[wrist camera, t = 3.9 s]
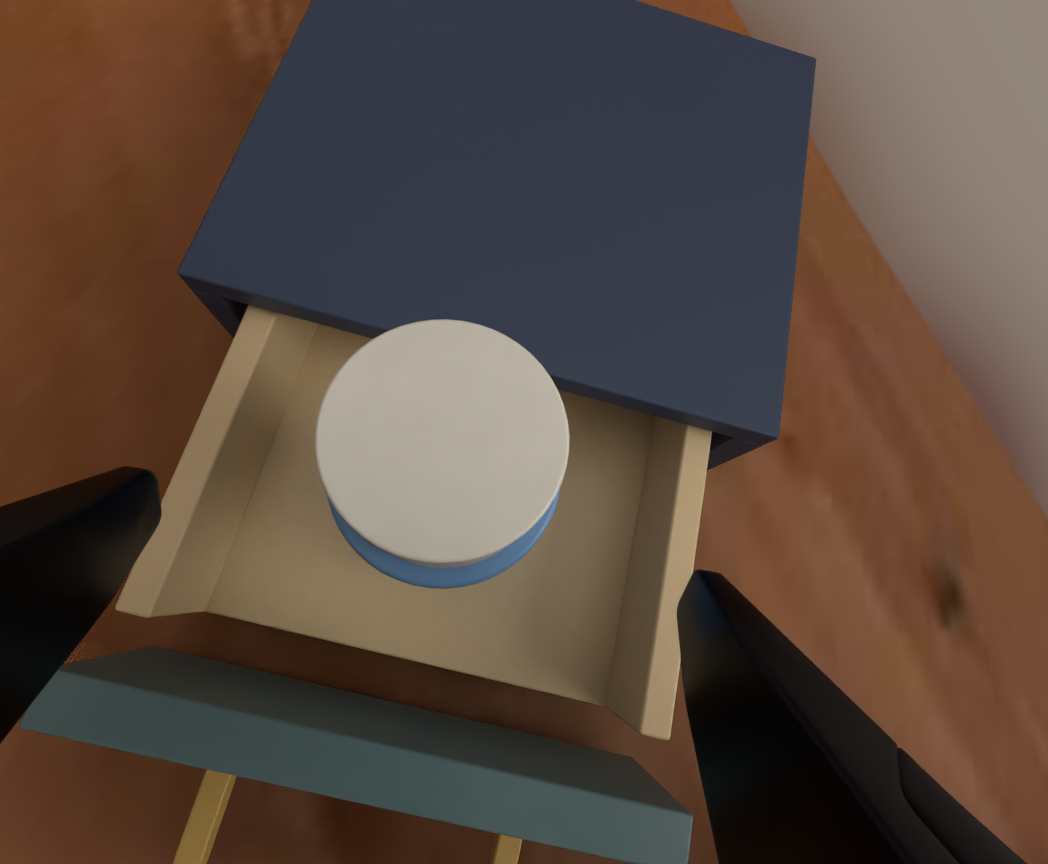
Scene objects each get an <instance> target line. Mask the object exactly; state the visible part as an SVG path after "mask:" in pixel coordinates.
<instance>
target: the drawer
mask: <svg viewBox="0 0 1048 864" xmlns="http://www.w3.org/2000/svg"><path fill="white" fill-rule="evenodd" d="M371 340H372V338H368V337H365V336H361V335H357V334H354V333H350V332H346V331H343V330H339V329H335V328H332V327H328V326H324V325H321V324H317V323H313V322H310V321H306V320H302V319H299V318H295V317H291V316H288V315H284V314H280V313H277V312H273V311H269V310H266V309H262V308H258V307H255V306H251V305H248V307H247V310H246V312H245V314H244V316H243V319H242V321H241V323H240V325H239V328H238V330H237V332H236V335H235V337H234V339H233V341H232V344H231V346H230V348H229V350H228V353H227V355H226V357H225V359H224V362H223V364H222V366H221V368H220V371H219V373H218V375H217V378H216V380H215V382H214V384H213V387H212V389H211V391H210V393H209V396H208V398H207V400H206V402H205V405H204V407H203V409H202V411H201V414H200V416H199V418H198V421H197V423H196V425H195V427H194V430H193V432H192V434H191V436H190V439H189V441H188V443H187V445H186V448H185V450H184V452H183V455H182V457H181V459H180V461H179V464H178V466H177V468H176V470H175V473H174V475H173V477H172V479H171V482H170V484H169V486H168V488H167V491H166V493H165V495H164V498H163V500H162V502H161V508H162V515H161V520H160V523H159V525H158V527H157V529H156V530H155V532H154V534H153V535H152V537H151V538H150V540H149V542H148V543H147V545H146V546H145V548H144V549H143V551H142V553H141V554H140V556H139V557H138V559H137V561H136V562H135V564H134V565H133V568H132V570H131V572H130V574H129V577H128V579H127V581H126V584H125V586H124V588H123V590H122V593H121V595H120V597H119V599H118V602H117V604H116V606H115V609H116V610H117V611H120V612H124V613H128V614H132V615H137V616H141V617H145V618H149V617H159V616H168V615H177V614H186V613H196V612H204V611H205V612H209V613H213V614H217V615H221V616H226V617H230V618H234V619H238V620H242V621H247V622H251V623H255V624H259V625H263V626H268V627H272V628H276V629H280V630H284V631H289V632H293V633H297V634H301V635H305V636H310V637H314V638H318V639H322V640H326V641H331V642H335V643H339V644H343V645H347V646H352V647H356V648H360V649H364V650H368V651H373V652H377V653H381V654H385V655H389V656H393V657H398V658H402V659H406V660H410V661H414V662H419V663H423V664H427V665H431V666H435V667H440V668H444V669H448V670H452V671H456V672H461V673H465V674H469V675H473V676H477V677H482V678H486V679H490V680H494V681H498V682H503V683H507V684H511V685H515V686H519V687H524V688H528V689H532V690H536V691H540V692H545V693H549V694H553V695H557V696H561V697H566V698H570V699H574V700H578V701H582V702H587V703H591V704H595V705H599V706H603V707H606V708H608V709H609V710H610V711H612V712H613V713H614V714H615V715H617V716H618V717H619V718H620V719H622V720H623V721H624V722H626V723H627V724H628V725H629V726H631V727H632V728H633V729H635V730H636V731H637V732H638V733H640V734H641V735H645V736H649V737H654V738H658V739H662V740H669V738H670V734H671V726H672V719H673V712H674V705H675V697H676V690H677V683H678V676H679V668H680V661H681V656H680V645H679V635H678V625H677V606H678V602H679V600H680V598H681V596H682V594H683V592H684V590H685V588H686V586H687V583H688V581H689V579H690V577H691V575H692V574H693V567H694V560H695V552H696V545H697V538H698V531H699V523H700V516H701V509H702V502H703V494H704V487H705V480H706V473H707V465H708V458H709V451H710V444H711V436H712V431H708V430H705V429H701V428H697V427H694V426H690V425H686V424H683V423H679V422H676V421H672V420H668V419H665V418H661V417H657V416H654V415H650V414H646V413H643V412H639V411H635V410H632V409H628V408H624V407H621V406H617V405H613V404H610V403H606V402H602V401H599V400H595V399H591V398H588V397H584V396H580V395H577V394H573V393H569V392H566V391H562V390H558V391H559V394H560V396H561V399H562V401H563V404H564V407H565V411H566V415H567V419H568V427H569V455H568V462H567V467H566V471H565V474H564V478H563V481H562V484H561V486H560V492H559V498H558V501H557V505H556V508H555V511H554V514H553V516H552V518H551V521H550V523H549V525H548V527H547V528H546V530H545V532H544V533H543V535H542V536H541V538H540V539H539V541H538V542H537V543H536V544H535V546H534V547H533V548H532V549H531V550H530V551H529V552H528V553H527V554H526V555H525V556H524V557H523V558H522V559H521V560H520V561H519V562H517V563H516V564H514V565H513V566H512V567H510V568H509V569H508V570H506V571H504V572H502V573H500V574H499V575H497V576H495V577H493V578H490V579H488V580H485V581H483V582H480V583H477V584H473V585H469V586H464V587H458V588H448V589H440V588H426V587H420V586H414V585H411V584H407V583H404V582H401V581H398V580H396V579H394V578H392V577H390V576H387V575H385V574H383V573H382V572H380V571H379V570H377V569H376V568H374V567H373V566H371V565H370V564H368V563H367V562H366V561H365V560H364V559H363V558H362V557H360V556H359V555H358V554H357V553H356V552H355V550H354V549H353V548H352V547H351V546H350V545H349V543H348V542H347V541H346V539H345V538H344V536H343V535H342V533H341V531H340V530H339V528H338V526H337V524H336V522H335V519H334V517H333V515H332V512H331V509H330V505H329V502H328V498H327V494H326V492H325V489H324V487H323V485H322V483H321V480H320V476H319V473H318V469H317V465H316V458H315V450H314V433H315V426H316V420H317V415H318V411H319V408H320V405H321V401H322V399H323V397H324V395H325V392H326V390H327V388H328V386H329V384H330V383H331V381H332V380H333V378H334V376H335V375H336V373H337V372H338V371H339V369H340V368H341V367H342V366H343V365H344V363H345V362H346V361H347V360H348V359H349V358H350V357H351V356H352V355H353V354H354V353H355V352H356V351H357V350H358V349H360V348H361V347H362V346H364V345H365V344H367V343H368V342H369V341H371ZM19 727H20V728H22V729H26V730H30V731H35V732H39V733H44V734H48V735H53V736H58V737H62V738H67V739H71V740H76V741H80V742H85V743H89V744H94V745H98V746H103V747H107V748H112V749H116V750H121V751H125V752H130V753H134V754H139V755H144V756H148V757H153V758H157V759H162V760H166V761H171V762H175V763H180V764H184V765H189V766H193V767H198V768H202V769H206V771H205V774H204V777H203V779H202V782H201V785H200V788H199V791H198V793H197V796H196V799H195V802H194V804H193V807H192V810H191V813H190V815H189V818H188V821H187V824H186V826H185V829H184V832H183V835H182V837H181V840H180V843H179V846H178V848H177V851H176V854H175V857H174V860H173V862H172V864H207V861H208V858H209V856H210V853H211V850H212V847H213V844H214V841H215V838H216V835H217V832H218V830H219V827H220V824H221V821H222V818H223V815H224V812H225V809H226V806H227V804H228V801H229V798H230V795H231V792H232V789H233V786H234V783H235V780H236V778H237V776H239V777H243V778H248V779H252V780H257V781H261V782H266V783H270V784H275V785H279V786H284V787H288V788H293V789H297V790H302V791H306V792H311V793H315V794H320V795H325V796H329V797H334V798H338V799H343V800H347V801H352V802H356V803H361V804H365V805H370V806H374V807H379V808H383V809H388V810H392V811H397V812H401V813H406V814H411V815H415V816H420V817H424V818H429V819H433V820H438V821H442V822H447V823H451V824H456V825H460V826H465V827H469V828H474V829H478V830H483V831H487V832H492V833H495V836H494V841H493V845H492V850H491V855H490V859H489V864H518V859H519V854H520V849H521V844H522V839H524V840H528V841H533V842H537V843H542V844H546V845H551V846H555V847H560V848H564V849H569V850H573V851H578V852H582V853H587V854H592V855H596V856H601V857H605V858H610V859H614V860H619V861H623V862H628V863H632V864H688V856H689V848H690V840H691V832H692V824H693V815H692V814H691V813H690V812H689V811H688V810H687V809H686V808H685V807H684V806H683V805H682V804H681V803H680V802H678V801H677V800H676V799H675V798H674V797H673V796H672V795H671V794H670V793H669V792H668V791H667V790H666V789H665V788H664V787H663V786H662V785H661V784H659V783H658V782H657V781H656V780H655V779H654V778H653V777H652V776H651V775H650V774H649V773H648V772H647V771H646V770H645V769H644V768H643V767H641V766H640V765H639V764H638V763H637V762H636V761H635V760H634V759H633V758H632V757H628V756H624V755H619V754H615V753H611V752H606V751H602V750H598V749H594V748H589V747H585V746H581V745H576V744H572V743H568V742H564V741H559V740H555V739H551V738H546V737H542V736H538V735H534V734H529V733H525V732H521V731H516V730H512V729H508V728H504V727H499V726H495V725H491V724H486V723H482V722H478V721H474V720H469V719H465V718H461V717H456V716H452V715H448V714H444V713H439V712H435V711H431V710H426V709H422V708H418V707H414V706H409V705H405V704H401V703H396V702H392V701H388V700H383V699H379V698H375V697H371V696H366V695H362V694H358V693H353V692H349V691H345V690H341V689H336V688H332V687H328V686H323V685H319V684H315V683H311V682H306V681H302V680H298V679H293V678H289V677H285V676H281V675H276V674H272V673H268V672H263V671H259V670H255V669H251V668H246V667H242V666H238V665H233V664H229V663H225V662H221V661H216V660H212V659H208V658H203V657H199V656H195V655H191V654H186V653H182V652H178V651H173V650H169V649H165V648H161V647H156V646H150V647H145V648H140V649H135V650H131V651H126V652H121V653H116V654H111V655H106V656H101V657H96V658H92V659H87V660H82V661H77V662H72V663H67V664H62V666H61V667H60V668H59V669H58V671H57V672H56V673H55V675H54V676H53V677H52V678H51V680H50V681H49V682H48V683H47V685H46V686H45V687H44V689H43V690H42V691H41V692H40V694H39V695H38V696H37V697H36V699H35V700H34V701H33V703H32V704H31V705H30V706H29V708H28V709H27V710H26V712H25V714H24V716H23V718H22V720H21V722H20V725H19Z"/></svg>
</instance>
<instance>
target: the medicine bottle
mask: <svg viewBox="0 0 1048 864" xmlns="http://www.w3.org/2000/svg"><path fill="white" fill-rule="evenodd" d="M314 450H315V458H316V465H317V469H318V473H319V476H320V480H321V483H322V485H323V487H324V489H325V492H326V494H327V498H328V502H329V505H330V509H331V512H332V515H333V517H334V519H335V522H336V524H337V526H338V528H339V530H340V531H341V533H342V535H343V536H344V538H345V539H346V541H347V542H348V543H349V545H350V546H351V547H352V548H353V549H354V550H355V552H356V553H357V554H358V555H359V556H360V557H362V558H363V559H364V560H365V561H366V562H367V563H368V564H370V565H371V566H373V567H374V568H376V569H377V570H379V571H380V572H382V573H383V574H385V575H387V576H390V577H392V578H394V579H396V580H398V581H401V582H404V583H407V584H411V585H414V586H420V587H426V588H440V589H448V588H458V587H464V586H469V585H473V584H477V583H480V582H483V581H485V580H488V579H490V578H493V577H495V576H497V575H499V574H500V573H502V572H504V571H506V570H508V569H509V568H510V567H512V566H513V565H514V564H516V563H517V562H519V561H520V560H521V559H522V558H523V557H524V556H525V555H526V554H527V553H528V552H529V551H530V550H531V549H532V548H533V547H534V546H535V544H536V543H537V542H538V541H539V539H540V538H541V536H542V535H543V533H544V532H545V530H546V528H547V527H548V525H549V523H550V521H551V518H552V516H553V514H554V511H555V508H556V505H557V501H558V498H559V492H560V486H561V484H562V481H563V478H564V474H565V471H566V467H567V462H568V455H569V427H568V419H567V415H566V411H565V407H564V404H563V401H562V399H561V396H560V394H559V391H558V389H557V388H556V386H555V384H554V382H553V380H552V379H551V377H550V376H549V374H548V373H547V372H546V370H545V369H544V367H543V366H542V365H541V364H540V363H539V362H538V361H537V360H536V358H535V357H534V356H533V355H532V354H531V353H530V352H528V351H527V350H526V349H525V348H523V347H522V346H521V345H520V344H518V343H517V342H515V341H514V340H512V339H511V338H509V337H507V336H506V335H504V334H502V333H500V332H497V331H495V330H493V329H491V328H488V327H485V326H482V325H479V324H475V323H471V322H466V321H459V320H449V319H441V320H426V321H419V322H414V323H410V324H406V325H402V326H399V327H397V328H394V329H392V330H389V331H387V332H385V333H383V334H381V335H379V336H378V337H376V338H374V339H372V340H371V341H369V342H368V343H367V344H365V345H364V346H362V347H361V348H360V349H358V350H357V351H356V352H355V353H354V354H353V355H352V356H351V357H350V358H349V359H348V360H347V361H346V362H345V363H344V365H343V366H342V367H341V368H340V369H339V371H338V372H337V373H336V375H335V376H334V378H333V380H332V381H331V383H330V384H329V386H328V388H327V390H326V392H325V395H324V397H323V399H322V401H321V405H320V408H319V411H318V415H317V420H316V426H315V433H314Z"/></svg>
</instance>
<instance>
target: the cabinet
mask: <svg viewBox="0 0 1048 864" xmlns="http://www.w3.org/2000/svg"><path fill="white" fill-rule="evenodd" d="M815 66H816V59H815V58H813V57H810V56H806V55H804V54H800V53H797V52H794V51H791V50H788V49H785V48H782V47H779V46H776V45H773V44H769V43H766V42H763V41H760V40H757V39H754V38H751V37H748V36H745V35H741V34H738V33H735V32H732V31H729V30H726V29H723V28H720V27H716V26H713V25H710V24H707V23H704V22H701V21H698V20H695V19H691V18H688V17H685V16H682V15H679V14H676V13H673V12H670V11H667V10H663V9H660V8H657V7H654V6H651V5H648V4H645V3H642V2H638V1H635V0H312V1H311V4H310V6H309V8H308V10H307V12H306V14H305V16H304V18H303V20H302V22H301V24H300V26H299V28H298V30H297V32H296V34H295V36H294V38H293V40H292V42H291V44H290V46H289V48H288V50H287V52H286V54H285V56H284V58H283V60H282V62H281V64H280V66H279V68H278V70H277V72H276V74H275V76H274V78H273V80H272V82H271V84H270V86H269V88H268V90H267V92H266V94H265V96H264V98H263V100H262V102H261V104H260V106H259V108H258V110H257V112H256V114H255V116H254V118H253V120H252V122H251V124H250V126H249V128H248V130H247V132H246V134H245V136H244V138H243V140H242V142H241V144H240V146H239V148H238V150H237V152H236V154H235V156H234V158H233V160H232V162H231V164H230V166H229V168H228V170H227V172H226V174H225V176H224V178H223V180H222V182H221V184H220V186H219V189H218V191H217V193H216V195H215V197H214V199H213V201H212V203H211V205H210V207H209V209H208V211H207V213H206V215H205V217H204V219H203V221H202V223H201V225H200V227H199V229H198V231H197V233H196V235H195V237H194V239H193V241H192V243H191V245H190V247H189V249H188V251H187V253H186V255H185V257H184V259H183V261H182V263H181V265H180V267H179V269H178V271H177V273H178V275H179V276H180V277H181V278H182V279H183V281H184V282H185V283H186V284H187V285H188V286H189V287H190V288H191V289H192V291H193V292H194V294H195V295H196V296H197V297H198V298H199V299H200V300H201V302H202V303H203V304H204V305H205V306H206V307H207V308H208V310H209V311H210V312H211V313H212V314H213V315H214V316H215V318H216V319H217V320H218V321H219V322H220V323H221V324H222V326H223V327H224V328H225V329H226V330H227V331H228V332H229V334H230V335H231V336H232V337H233V338H234V337H235V335H236V332H237V330H238V328H239V325H240V323H241V321H242V319H243V316H244V314H245V312H246V310H247V307H248V305H251V306H255V307H258V308H262V309H266V310H269V311H273V312H277V313H280V314H284V315H288V316H291V317H295V318H299V319H302V320H306V321H310V322H313V323H317V324H321V325H324V326H328V327H332V328H335V329H339V330H343V331H346V332H350V333H354V334H357V335H361V336H365V337H368V338H372V339H374V338H376V337H378V336H379V335H381V334H383V333H385V332H387V331H389V330H392V329H394V328H397V327H399V326H402V325H406V324H410V323H414V322H419V321H426V320H441V319H449V320H459V321H466V322H471V323H475V324H479V325H482V326H485V327H488V328H491V329H493V330H495V331H497V332H500V333H502V334H504V335H506V336H507V337H509V338H511V339H512V340H514V341H515V342H517V343H518V344H520V345H521V346H522V347H523V348H525V349H526V350H527V351H528V352H530V353H531V354H532V355H533V356H534V357H535V358H536V360H537V361H538V362H539V363H540V364H541V365H542V366H543V367H544V369H545V370H546V372H547V373H548V374H549V376H550V377H551V379H552V380H553V382H554V384H555V386H556V388H557V389H558V390H562V391H566V392H569V393H573V394H577V395H580V396H584V397H588V398H591V399H595V400H599V401H602V402H606V403H610V404H613V405H617V406H621V407H624V408H628V409H632V410H635V411H639V412H643V413H646V414H650V415H654V416H657V417H661V418H665V419H668V420H672V421H676V422H679V423H683V424H686V425H690V426H694V427H697V428H701V429H705V430H708V431H712V436H711V444H710V451H709V458H708V465H707V470H709V469H711V468H713V467H716V466H718V465H720V464H722V463H725V462H727V461H729V460H731V459H734V458H736V457H738V456H740V455H743V454H745V453H747V452H749V451H752V450H754V449H756V448H758V447H761V446H762V445H765V444H767V443H769V442H771V441H773V440H776V439H778V437H779V431H780V421H781V411H782V401H783V391H784V380H785V370H786V360H787V350H788V340H789V330H790V320H791V309H792V299H793V289H794V279H795V269H796V259H797V249H798V238H799V228H800V218H801V208H802V198H803V188H804V177H805V167H806V157H807V147H808V137H809V127H810V126H809V125H810V117H811V106H812V96H813V86H814V76H815Z"/></svg>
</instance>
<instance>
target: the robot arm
mask: <svg viewBox="0 0 1048 864" xmlns="http://www.w3.org/2000/svg"><path fill="white" fill-rule="evenodd" d="M161 515H162V508H161V501H160V494H159V487H158V480H157V476H156V475H155V473H154V472H152V471H151V470H147V469H141V468H136V467H129V466H125V467H120V468H117V469H114V470H111V471H108V472H105V473H102V474H99V475H96V476H93V477H90V478H87V479H84V480H81V481H77V482H74V483H71V484H68V485H65V486H62V487H59V488H56V489H53V490H50V491H47V492H44V493H41V494H38V495H35V496H32V497H29V498H25V499H22V500H19V501H16V502H13V503H10V504H7V505H4V506H1V507H0V743H1V742H2V741H3V740H4V738H5V737H6V736H7V734H8V733H9V732H10V731H11V729H12V728H13V727H14V726H15V724H16V723H17V722H18V720H19V719H20V718H21V717H22V715H23V714H24V713H25V712H26V710H27V709H28V708H29V706H30V705H31V704H32V703H33V701H34V700H35V699H36V697H37V696H38V695H39V694H40V692H41V691H42V690H43V689H44V687H45V686H46V685H47V683H48V682H49V681H50V680H51V678H52V677H53V676H54V675H55V673H56V672H57V671H58V669H59V668H60V667H61V666H62V664H63V663H64V662H65V661H66V659H67V658H68V657H69V655H70V654H71V653H72V652H73V650H74V649H75V648H76V646H77V645H78V644H79V643H80V641H81V640H82V639H83V638H84V636H85V635H86V634H87V632H88V631H89V630H90V629H91V627H92V626H93V625H94V624H95V622H96V621H97V620H98V618H99V617H100V616H101V614H102V613H103V612H104V610H105V609H106V607H107V606H108V605H109V603H110V602H111V600H112V599H113V597H114V596H115V594H116V593H117V591H118V589H119V588H120V586H121V585H122V583H123V581H124V580H125V578H126V577H127V575H128V573H129V572H130V570H131V569H132V567H133V565H134V564H135V562H136V561H137V559H138V557H139V556H140V554H141V553H142V551H143V549H144V548H145V546H146V545H147V543H148V542H149V540H150V538H151V537H152V535H153V534H154V532H155V530H156V529H157V527H158V525H159V523H160V520H161ZM677 625H678V635H679V645H680V656H681V666H682V676H683V686H684V694H685V702H686V707H687V713H688V718H689V723H690V727H691V732H692V737H693V742H694V747H695V751H696V756H697V761H698V766H699V771H700V775H701V780H702V785H703V790H704V795H705V799H706V804H707V809H708V814H709V819H710V823H711V828H712V833H713V838H714V843H715V847H716V852H717V857H718V862H719V864H1027V863H1026V862H1025V861H1023V860H1022V859H1021V858H1020V857H1019V856H1018V855H1017V854H1015V853H1014V852H1013V851H1012V850H1011V849H1010V848H1009V847H1007V846H1006V845H1005V844H1004V843H1003V842H1002V841H1001V840H1000V839H998V838H997V837H996V836H995V835H994V834H993V833H992V832H991V831H989V830H988V829H987V828H986V827H985V826H984V825H983V824H982V823H981V822H979V821H978V820H977V819H976V818H975V817H974V816H973V815H972V814H970V813H969V812H968V811H967V810H966V809H965V808H964V807H963V806H962V805H961V804H959V803H958V802H957V801H956V800H955V799H954V798H953V797H952V796H951V795H950V794H949V793H948V792H947V791H946V790H945V789H944V788H942V787H941V786H940V785H939V784H938V783H937V782H936V781H935V780H934V779H933V778H932V777H931V776H930V775H929V774H928V773H926V772H925V771H924V770H923V769H922V768H921V767H920V766H919V765H918V764H917V763H916V762H915V761H914V760H913V759H912V758H911V757H910V756H909V755H908V754H907V753H906V752H905V751H904V750H903V749H901V748H897V744H896V743H895V742H894V741H893V740H892V739H891V738H890V737H889V736H888V735H887V734H886V733H885V732H884V731H883V730H882V729H881V728H880V727H879V726H878V725H877V724H876V723H875V722H874V721H873V720H872V719H871V718H869V717H868V716H867V715H866V714H865V713H864V712H863V711H862V710H861V709H860V708H859V707H858V706H857V705H856V704H855V703H854V702H853V701H852V700H851V699H850V698H849V697H848V696H847V695H846V694H845V693H844V692H843V691H842V690H841V689H840V688H838V687H837V686H836V685H835V684H834V683H833V682H832V681H831V680H830V679H829V678H828V677H827V676H826V675H825V674H824V673H823V672H822V671H821V670H820V669H819V668H818V667H817V666H816V665H815V664H814V663H813V662H812V661H811V660H810V659H808V658H807V657H806V656H805V655H804V654H803V653H802V652H801V651H800V650H799V649H798V648H797V647H796V646H795V645H794V644H793V643H792V642H791V641H790V640H789V639H788V638H787V637H786V636H785V635H784V634H783V633H782V632H781V631H780V630H778V629H777V628H776V627H775V626H774V625H773V624H772V623H771V622H770V621H769V620H768V619H767V618H766V617H765V616H764V615H763V614H762V613H761V612H760V611H759V610H758V609H757V608H756V607H755V606H754V605H753V604H752V603H751V602H750V601H748V600H747V599H746V598H745V597H744V596H743V595H742V594H741V593H740V592H739V591H738V590H737V589H736V588H735V587H734V586H733V585H732V584H731V583H730V582H729V581H728V580H727V579H726V578H725V577H724V576H722V575H721V574H720V573H717V572H712V571H707V570H701V569H699V570H696V571H694V572H693V574H692V575H691V577H690V579H689V581H688V583H687V586H686V588H685V590H684V592H683V594H682V596H681V598H680V600H679V602H678V606H677Z"/></svg>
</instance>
